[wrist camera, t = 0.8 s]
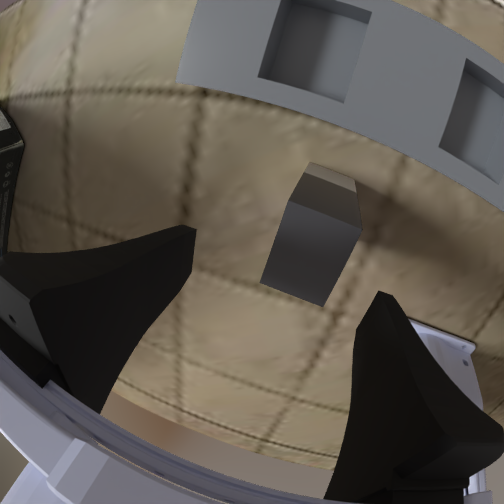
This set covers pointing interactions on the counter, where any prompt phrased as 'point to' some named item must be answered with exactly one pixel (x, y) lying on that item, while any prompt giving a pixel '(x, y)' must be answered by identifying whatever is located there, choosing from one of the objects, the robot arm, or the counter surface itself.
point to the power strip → (361, 77)
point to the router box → (7, 172)
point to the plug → (314, 236)
